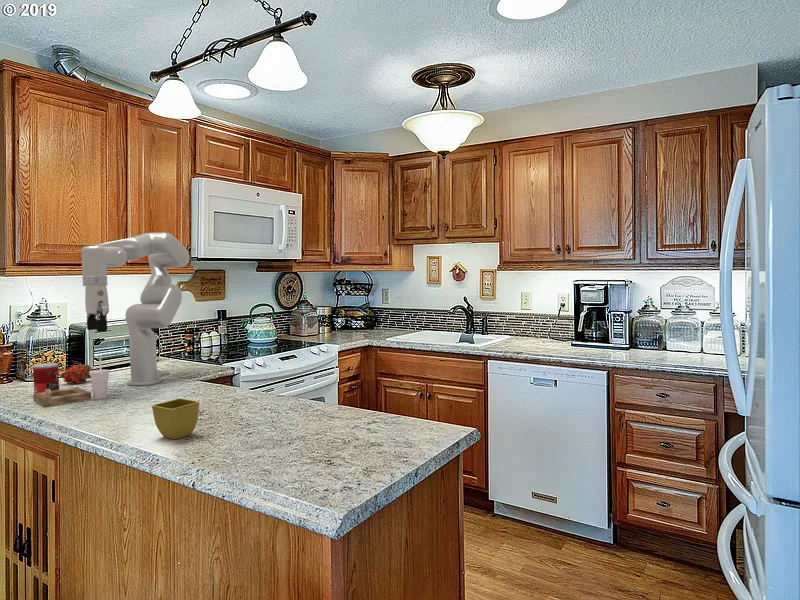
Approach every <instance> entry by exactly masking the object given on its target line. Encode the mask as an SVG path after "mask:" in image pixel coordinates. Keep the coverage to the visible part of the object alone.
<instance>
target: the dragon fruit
mask: <svg viewBox="0 0 800 600" xmlns="http://www.w3.org/2000/svg"><path fill="white" fill-rule="evenodd" d="M90 371H94V369H93V367H91V366H90V365H87V364H82V363H81V362H80V363H78V364H77V365H76V364H72V365H71V366H70V367H67V368H66V369H65V371H64V372H63V373H61V375H59V379H63V382H64V383H66V384H67V383H74V384H77V383H79V384H81V383H82V382H84V383H86V382H87V379H90V380H91V376H90V375H89V372H90Z"/></svg>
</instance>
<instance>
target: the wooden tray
mask: <svg viewBox="0 0 800 600" xmlns="http://www.w3.org/2000/svg"><path fill="white" fill-rule="evenodd" d="M90 399H91V400H92V393H91V392H90V391H88V390H86V389H83V388H81V387H79V386H76V387H70V388H64V389H63V388H62V389H59V390H55V391H51V389H46V390H45V392H42V393H35V394H34V393H33V402H35V403H37V404H38V405H40V406H41V407H43V408H49V407H50V406H51V407H56V406H55V405H57V406H62V405H61V404H63V405H67V404H66V403H69V404H73V403H72V402H75V403H79V402H78V401H81V402H85V401H84V400H87V401H91V400H90Z"/></svg>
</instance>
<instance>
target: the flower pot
mask: <svg viewBox="0 0 800 600" xmlns="http://www.w3.org/2000/svg"><path fill="white" fill-rule="evenodd" d="M151 408H152V409H151V410H152V414H153V419H154V424H155V426H156V428H157V430H158V432H159V433H160V434H161V435H162V436H163V437H164V436H165V437H164V438H167V437H168V438H167V439H171V438H172V439H171V440H178V439H181V438H184V437H186V436H190V435H192V433H193V432H194V430H195V428H196V425H197V423H198V418H199V411H200V409H199V408H200V401H197V400H193V399H192V400H191V399H186V398H176V399H172V400H167V401H164V402H159V403H156V404H152V405H151ZM177 438H178V439H177Z"/></svg>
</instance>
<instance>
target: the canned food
mask: <svg viewBox="0 0 800 600" xmlns="http://www.w3.org/2000/svg"><path fill="white" fill-rule="evenodd" d="M32 374H33V375H32V378H33V379H32V380H33V392H34V393H33V394H35V393H42V392H45V390H46V389H51V391H55V390H60V375H59V374H60V373H59V364H58V363H55V362H47V363H37V364H34V365H32Z"/></svg>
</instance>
